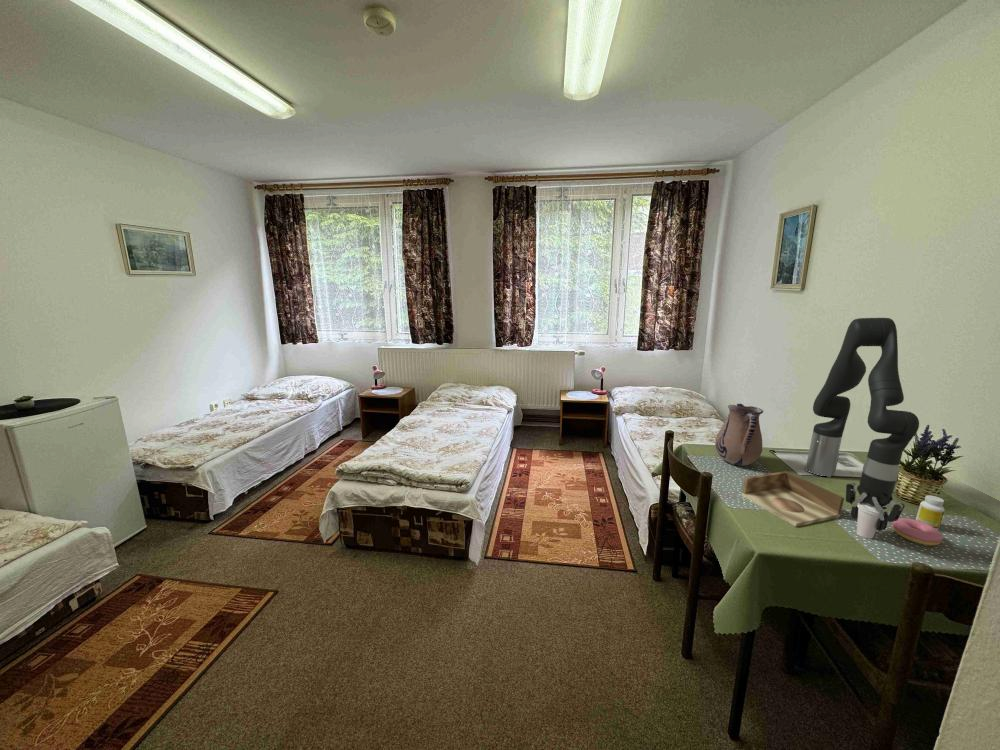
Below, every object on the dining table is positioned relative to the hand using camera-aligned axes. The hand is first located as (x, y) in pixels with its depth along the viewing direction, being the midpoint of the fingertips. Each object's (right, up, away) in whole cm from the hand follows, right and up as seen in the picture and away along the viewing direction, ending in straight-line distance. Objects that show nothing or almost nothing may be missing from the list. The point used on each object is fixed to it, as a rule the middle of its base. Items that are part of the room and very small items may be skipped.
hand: (866, 523), depth 121 cm
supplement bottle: (+25, -3, +6) cm, 26 cm away
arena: (-12, 0, +17) cm, 21 cm away
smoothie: (0, -4, +1) cm, 4 cm away
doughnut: (+15, -5, +1) cm, 16 cm away
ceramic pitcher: (-10, +7, +50) cm, 51 cm away
